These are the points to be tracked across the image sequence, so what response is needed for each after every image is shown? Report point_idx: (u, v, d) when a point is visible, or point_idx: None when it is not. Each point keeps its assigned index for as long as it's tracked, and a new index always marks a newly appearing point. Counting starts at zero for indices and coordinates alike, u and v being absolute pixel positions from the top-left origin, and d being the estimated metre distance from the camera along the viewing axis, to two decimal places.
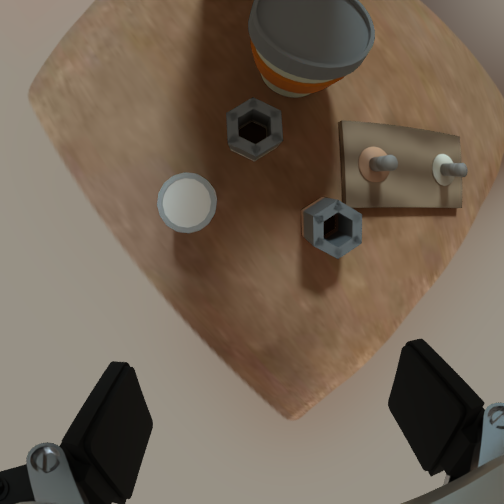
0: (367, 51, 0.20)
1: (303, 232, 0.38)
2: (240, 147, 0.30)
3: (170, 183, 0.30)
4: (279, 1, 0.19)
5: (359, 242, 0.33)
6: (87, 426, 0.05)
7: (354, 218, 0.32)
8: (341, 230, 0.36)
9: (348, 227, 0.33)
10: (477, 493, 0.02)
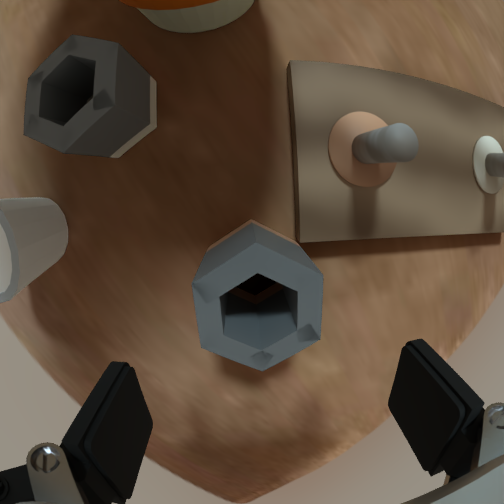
0: None
1: None
2: (39, 139, 0.11)
3: None
4: None
5: (315, 337, 0.14)
6: (88, 426, 0.05)
7: (302, 286, 0.13)
8: (285, 293, 0.17)
9: (292, 299, 0.15)
10: (477, 493, 0.02)
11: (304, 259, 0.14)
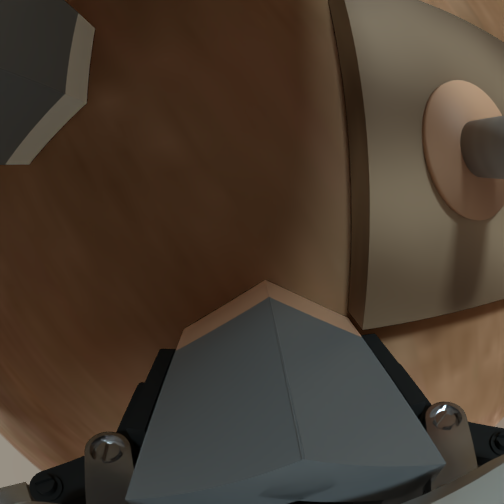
0: None
1: None
2: None
3: None
4: None
5: None
6: (151, 410, 0.06)
7: (398, 491, 0.03)
8: None
9: None
10: (477, 493, 0.02)
11: (397, 410, 0.05)
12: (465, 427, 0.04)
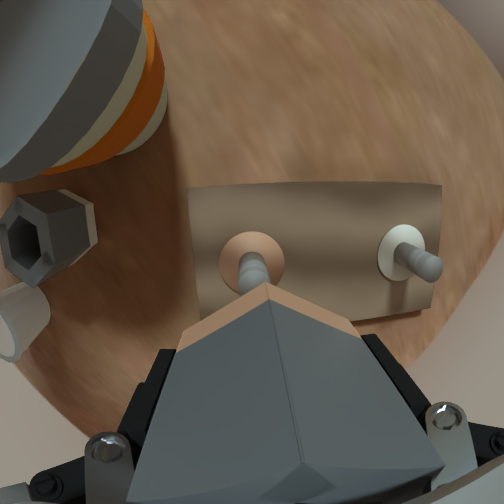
0: (68, 81, 0.07)
1: None
2: (16, 274, 0.16)
3: None
4: None
5: None
6: (151, 410, 0.06)
7: (397, 492, 0.03)
8: None
9: None
10: (477, 493, 0.02)
11: (397, 412, 0.05)
12: (465, 427, 0.04)
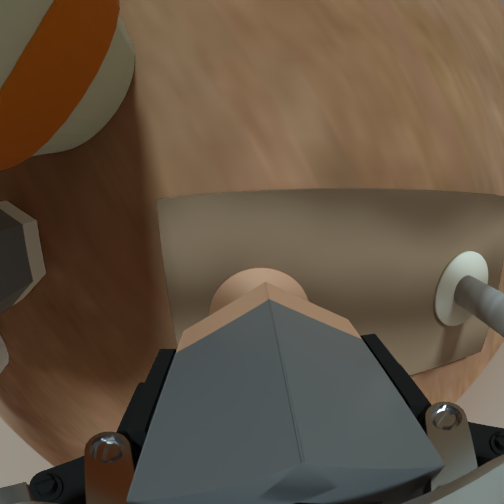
0: None
1: None
2: None
3: None
4: None
5: None
6: (151, 410, 0.06)
7: (397, 492, 0.03)
8: None
9: None
10: (477, 493, 0.02)
11: (397, 412, 0.05)
12: (465, 426, 0.04)
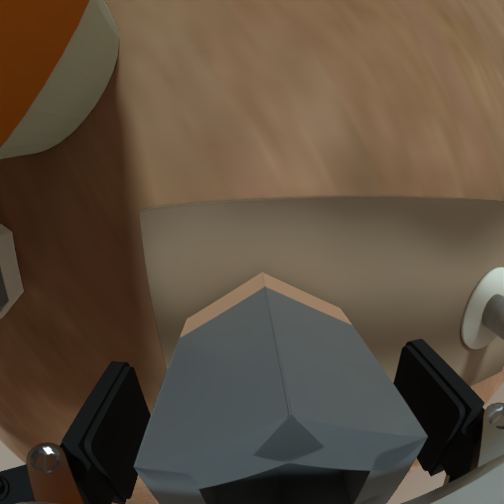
0: None
1: None
2: None
3: None
4: None
5: None
6: (88, 426, 0.05)
7: (383, 462, 0.04)
8: None
9: None
10: (477, 493, 0.02)
11: (382, 387, 0.06)
12: None
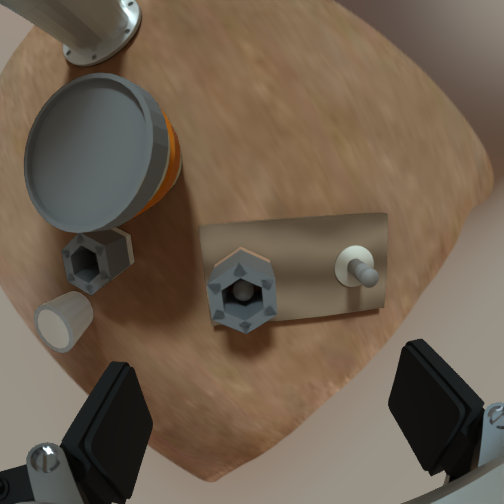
0: (137, 188, 0.17)
1: None
2: (77, 286, 0.27)
3: (38, 312, 0.28)
4: (51, 132, 0.17)
5: (274, 313, 0.26)
6: (88, 426, 0.05)
7: (264, 284, 0.25)
8: (261, 291, 0.30)
9: None
10: (477, 493, 0.02)
11: (267, 270, 0.27)
12: None
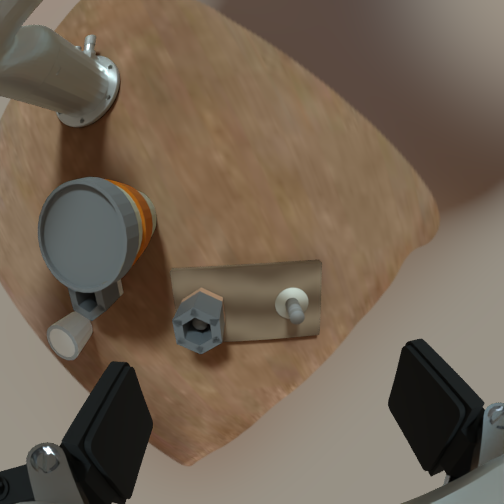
0: (119, 269, 0.26)
1: None
2: (81, 313, 0.36)
3: (50, 330, 0.37)
4: (56, 218, 0.26)
5: (219, 342, 0.35)
6: (88, 426, 0.05)
7: (211, 322, 0.35)
8: None
9: None
10: (477, 493, 0.02)
11: (215, 311, 0.36)
12: None
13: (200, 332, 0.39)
